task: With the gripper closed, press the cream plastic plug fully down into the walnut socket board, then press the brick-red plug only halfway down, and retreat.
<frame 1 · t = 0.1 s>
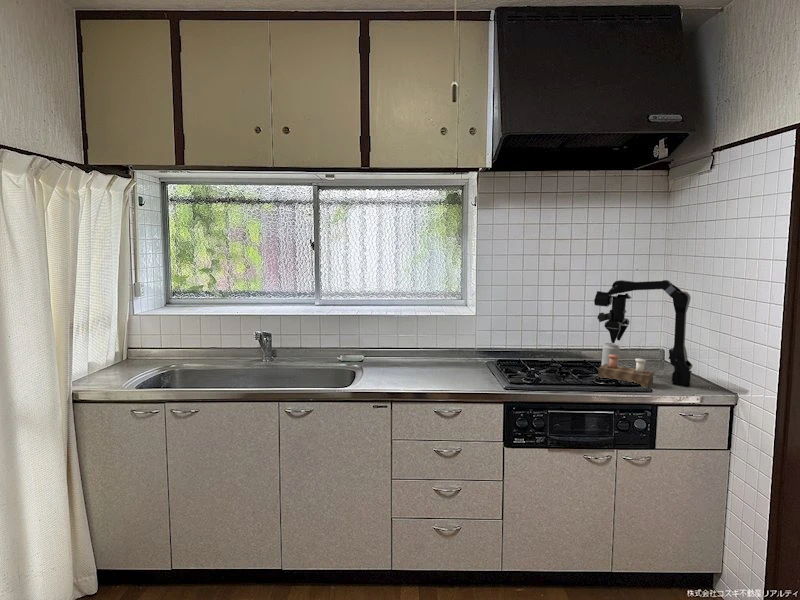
hand: (615, 341, 236), 15 cm above the countertop, fingers open, 9 cm apart
brick plug: (613, 362, 226), point 7 cm above the countertop, slide at 0.0 cm
socket board: (625, 380, 224), on the countertop
can: (609, 368, 247), on the countertop
cream plug: (640, 366, 219), point 7 cm above the countertop, slide at 0.0 cm
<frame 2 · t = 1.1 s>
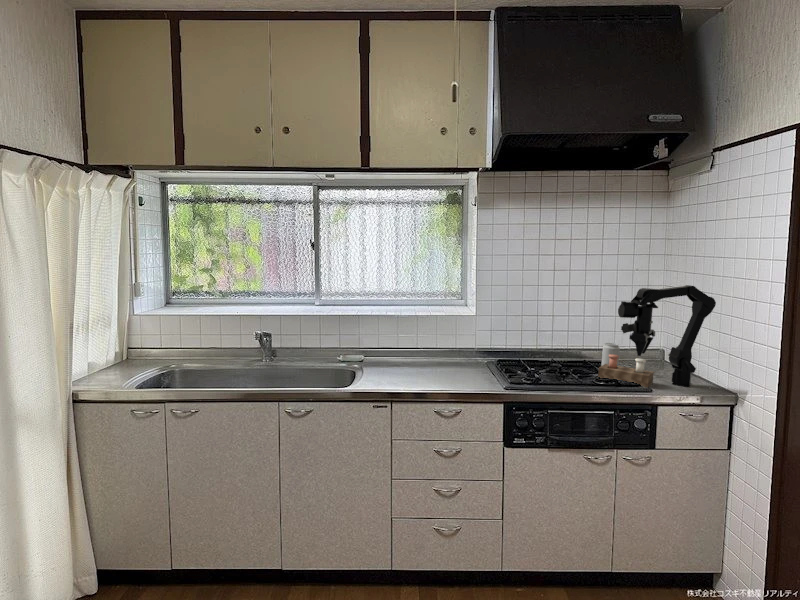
hand: (641, 354, 219), 12 cm above the countertop, fingers open, 7 cm apart
nothing on the countertop moved.
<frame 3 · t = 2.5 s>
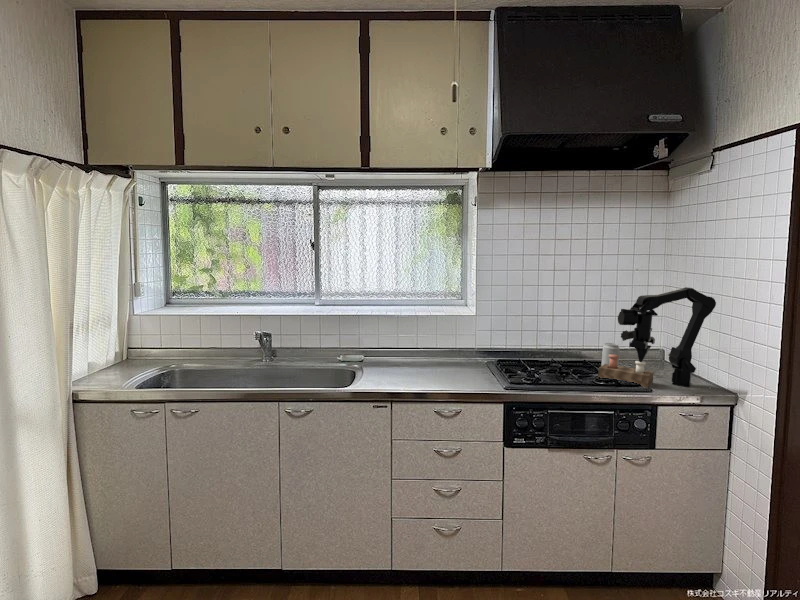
hand: (640, 361, 219), 9 cm above the countertop, fingers closed, pressing on cream plug
cream plug: (639, 368, 220), point 6 cm above the countertop, slide at 1.0 cm, touching gripper
everything else where it was.
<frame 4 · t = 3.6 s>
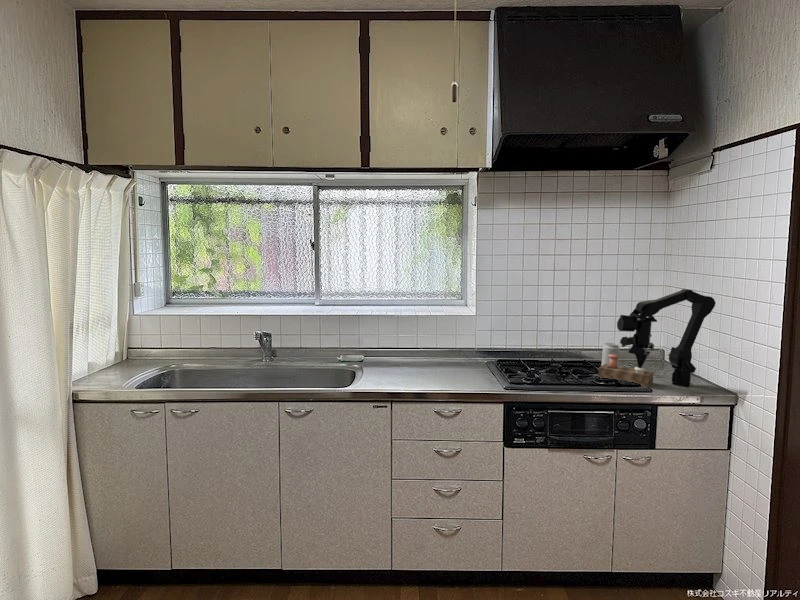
hand: (639, 367, 220), 7 cm above the countertop, fingers closed
cream plug: (639, 375, 220), point 4 cm above the countertop, slide at 3.9 cm
everything else where it was.
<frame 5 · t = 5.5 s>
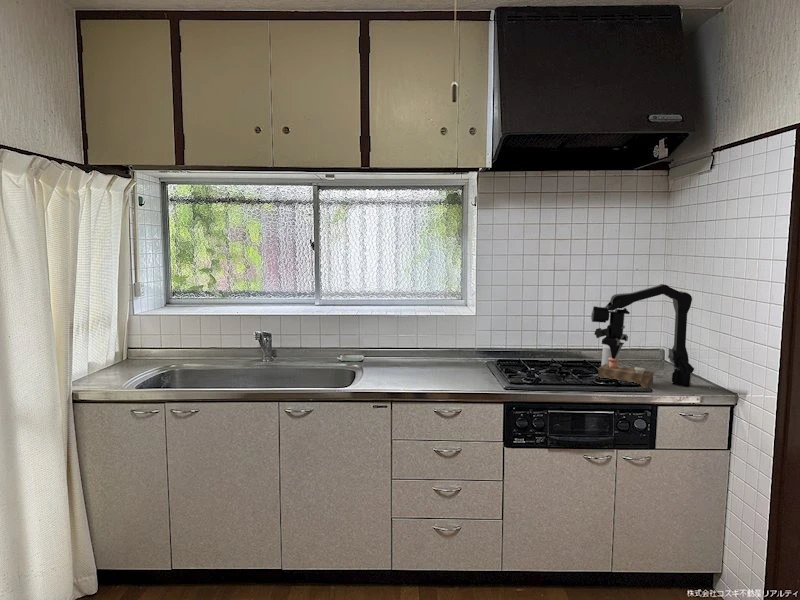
hand: (613, 358, 226), 9 cm above the countertop, fingers closed, pressing on brick plug
brick plug: (612, 365, 226), point 6 cm above the countertop, slide at 1.4 cm, touching gripper
everything else where it was.
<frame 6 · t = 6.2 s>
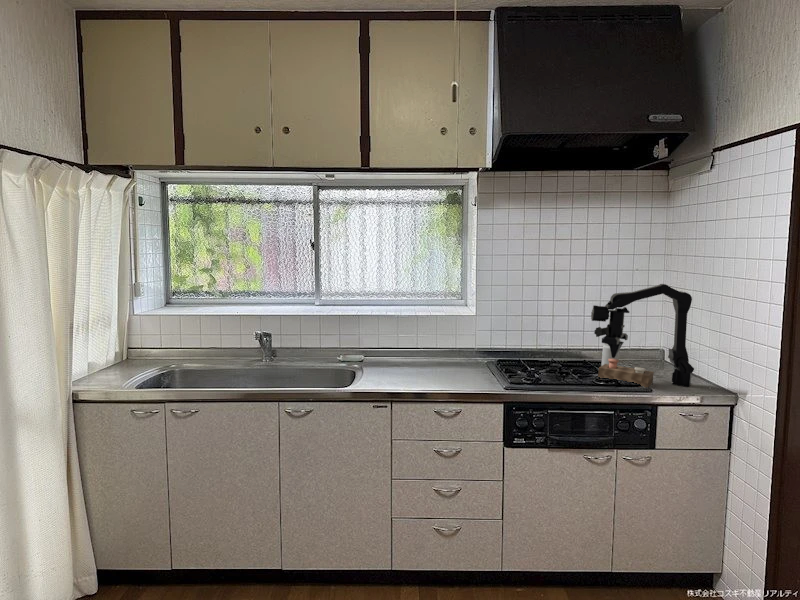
hand: (613, 357, 226), 9 cm above the countertop, fingers closed
brick plug: (612, 366, 226), point 5 cm above the countertop, slide at 1.9 cm
everything else where it was.
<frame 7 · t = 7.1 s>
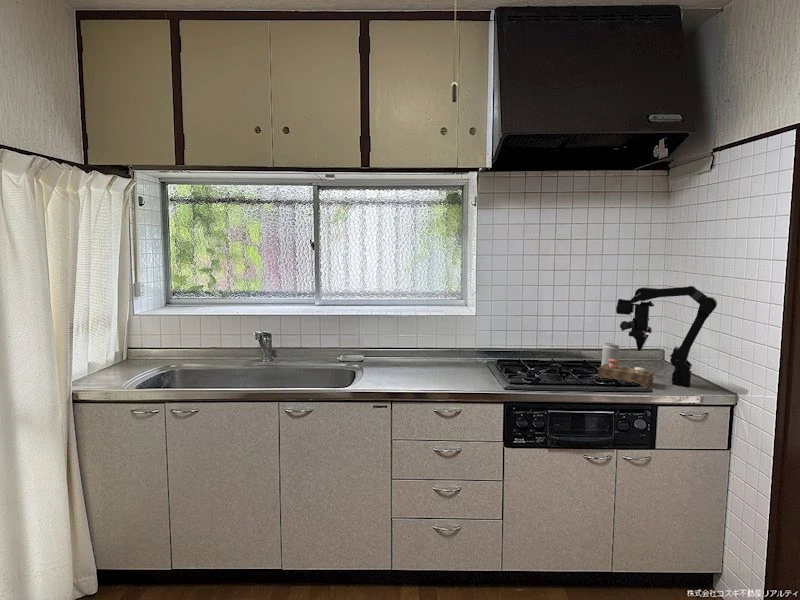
hand: (639, 350, 230), 12 cm above the countertop, fingers closed
nothing on the countertop moved.
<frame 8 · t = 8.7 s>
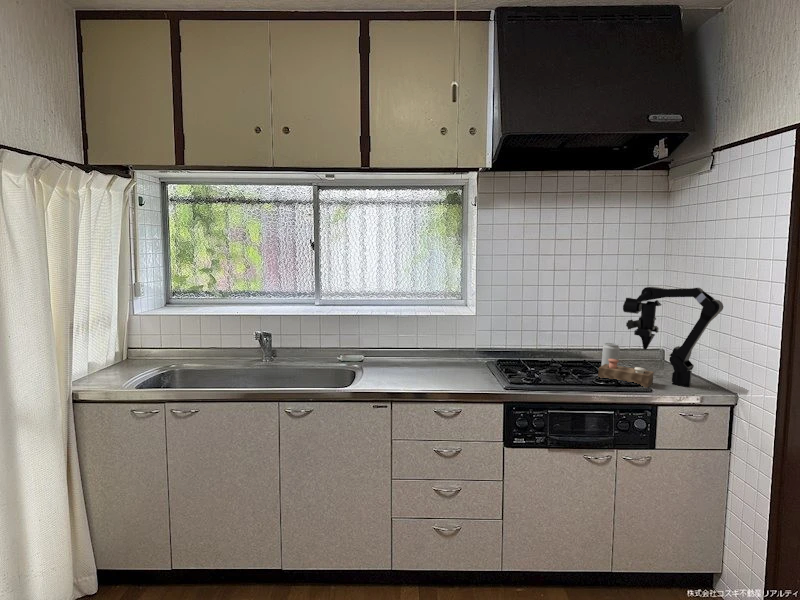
hand: (644, 349, 231), 13 cm above the countertop, fingers closed
nothing on the countertop moved.
at the end: cream plug slide at 3.9 cm; brick plug slide at 1.9 cm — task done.
